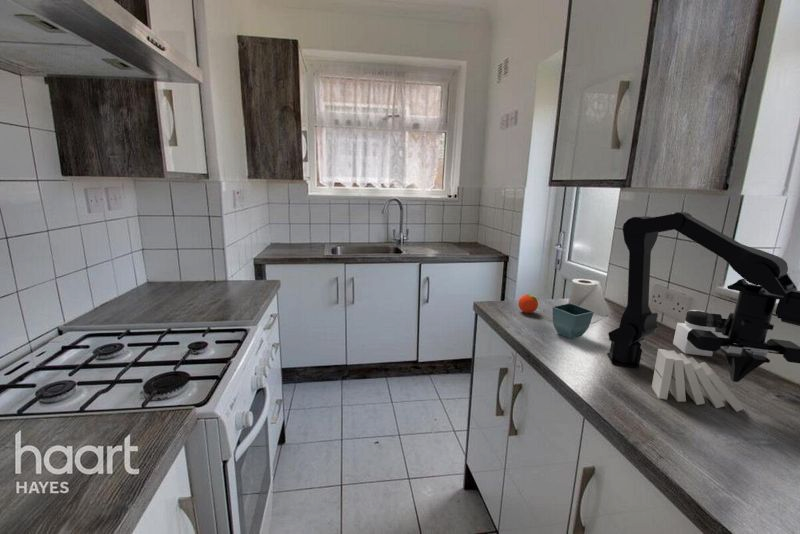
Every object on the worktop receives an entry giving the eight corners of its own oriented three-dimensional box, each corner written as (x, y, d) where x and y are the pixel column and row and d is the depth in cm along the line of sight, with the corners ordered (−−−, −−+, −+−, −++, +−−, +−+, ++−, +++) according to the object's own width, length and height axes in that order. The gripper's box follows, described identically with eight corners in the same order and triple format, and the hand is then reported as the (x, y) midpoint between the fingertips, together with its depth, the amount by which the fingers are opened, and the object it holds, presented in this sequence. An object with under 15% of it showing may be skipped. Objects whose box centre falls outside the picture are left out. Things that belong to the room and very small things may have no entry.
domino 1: (658, 398, 84) (665, 358, 82) (651, 387, 89) (658, 348, 87) (666, 399, 84) (674, 359, 81) (659, 388, 88) (666, 349, 86)
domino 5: (736, 411, 80) (706, 375, 80) (724, 399, 84) (696, 365, 85) (744, 408, 79) (714, 371, 80) (732, 396, 84) (703, 361, 84)
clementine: (542, 313, 137) (544, 294, 136) (536, 318, 132) (538, 299, 130) (521, 308, 142) (523, 290, 140) (514, 312, 137) (516, 294, 135)
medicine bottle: (712, 357, 106) (722, 317, 103) (684, 354, 107) (693, 315, 104) (698, 346, 113) (707, 309, 110) (672, 343, 114) (680, 307, 111)
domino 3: (696, 404, 82) (683, 364, 81) (687, 393, 87) (674, 354, 86) (705, 403, 81) (691, 362, 81) (695, 391, 86) (682, 353, 85)
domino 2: (677, 401, 83) (674, 360, 81) (669, 389, 88) (665, 350, 86) (685, 401, 82) (682, 360, 81) (677, 389, 87) (674, 350, 86)
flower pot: (571, 343, 112) (575, 315, 110) (548, 332, 120) (551, 306, 118) (590, 338, 116) (594, 311, 114) (566, 328, 124) (570, 302, 122)
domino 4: (716, 408, 81) (693, 369, 81) (705, 396, 86) (684, 359, 85) (724, 405, 80) (702, 367, 80) (713, 393, 85) (692, 357, 85)
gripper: (782, 308, 82) (763, 371, 86) (684, 297, 88) (670, 357, 91) (820, 326, 72) (797, 397, 75) (706, 313, 77) (690, 380, 81)
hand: (734, 381), depth 81 cm, fingers closed
